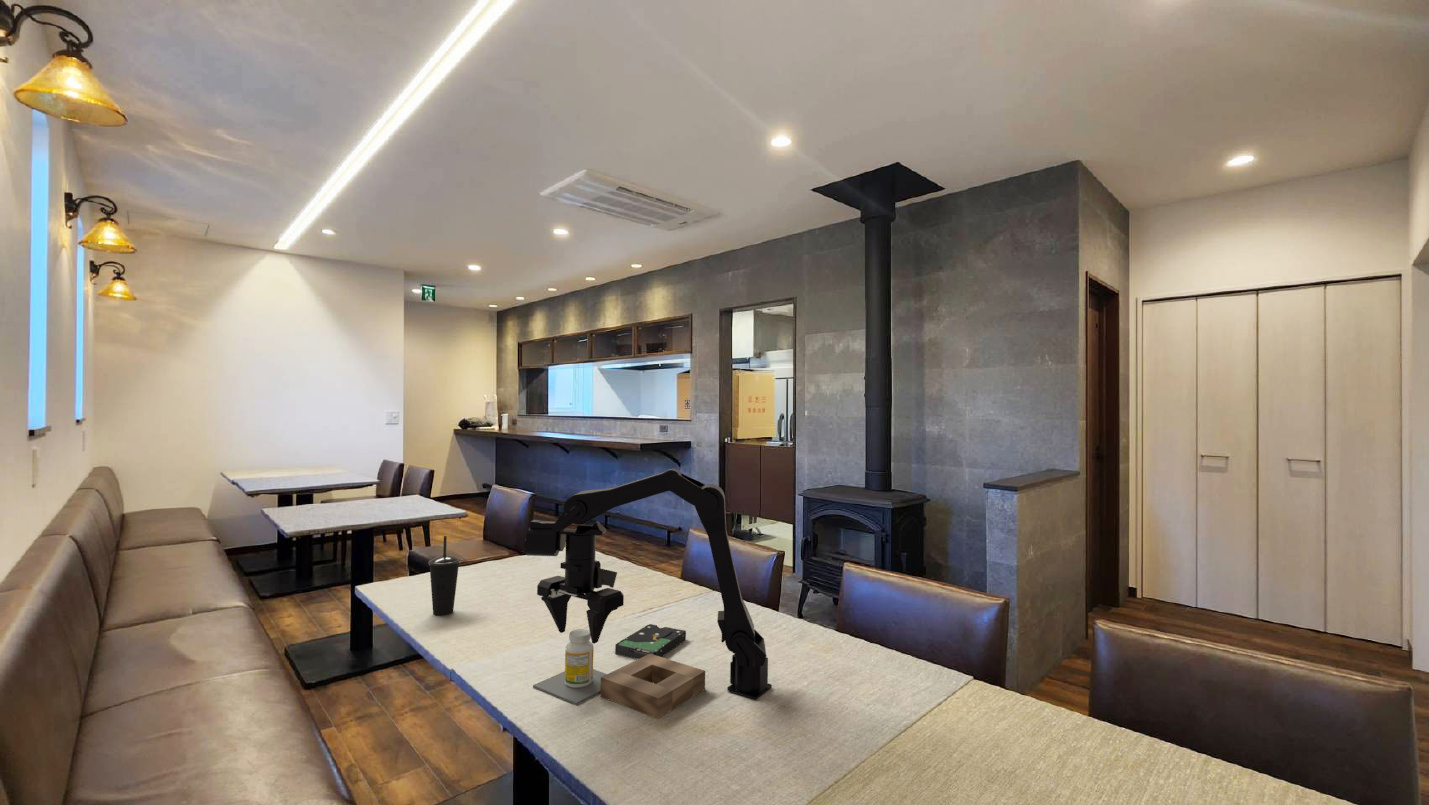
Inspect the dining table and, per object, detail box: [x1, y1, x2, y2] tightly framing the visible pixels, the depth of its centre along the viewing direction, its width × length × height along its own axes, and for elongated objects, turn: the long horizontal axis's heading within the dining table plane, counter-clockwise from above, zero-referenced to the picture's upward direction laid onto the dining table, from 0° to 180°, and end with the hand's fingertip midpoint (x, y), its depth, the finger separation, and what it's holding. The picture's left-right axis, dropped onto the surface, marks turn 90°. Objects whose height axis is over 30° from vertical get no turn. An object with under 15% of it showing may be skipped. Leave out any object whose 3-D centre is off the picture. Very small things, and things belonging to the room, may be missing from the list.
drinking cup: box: [427, 535, 461, 617], centre depth 156 cm, size 8×8×20 cm
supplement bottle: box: [564, 628, 595, 688], centre depth 115 cm, size 5×5×10 cm
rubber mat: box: [532, 668, 608, 706], centre depth 115 cm, size 12×12×1 cm
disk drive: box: [614, 623, 687, 660], centre depth 135 cm, size 10×3×15 cm
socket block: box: [599, 654, 706, 720], centre depth 112 cm, size 14×14×4 cm
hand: (578, 637), depth 115 cm, fingers open, 9 cm apart
